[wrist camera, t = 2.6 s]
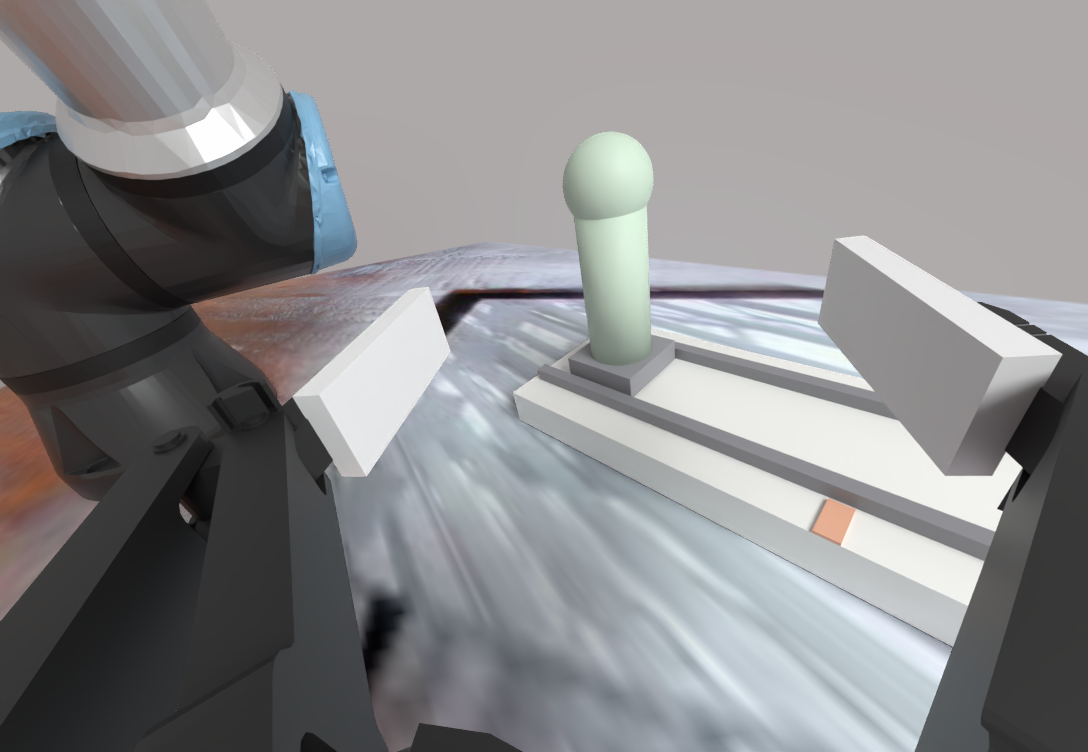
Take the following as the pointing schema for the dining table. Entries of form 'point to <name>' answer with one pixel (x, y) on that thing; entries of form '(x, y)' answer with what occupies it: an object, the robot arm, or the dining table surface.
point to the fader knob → (614, 262)
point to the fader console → (790, 471)
